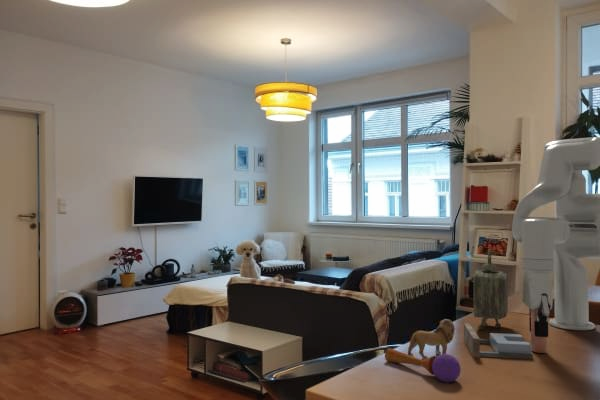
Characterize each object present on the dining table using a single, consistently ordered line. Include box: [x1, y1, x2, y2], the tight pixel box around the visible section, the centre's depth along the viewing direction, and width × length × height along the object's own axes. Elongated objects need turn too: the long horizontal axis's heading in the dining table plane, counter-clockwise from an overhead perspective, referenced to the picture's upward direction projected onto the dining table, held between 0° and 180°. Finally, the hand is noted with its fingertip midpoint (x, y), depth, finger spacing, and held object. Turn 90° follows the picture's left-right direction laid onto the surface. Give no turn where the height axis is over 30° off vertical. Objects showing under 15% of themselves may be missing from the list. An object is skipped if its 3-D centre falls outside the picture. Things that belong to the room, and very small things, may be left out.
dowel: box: [530, 307, 548, 354], centre depth 125 cm, size 4×4×12 cm
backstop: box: [463, 322, 534, 360], centre depth 127 cm, size 16×14×5 cm
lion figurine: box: [407, 318, 456, 360], centre depth 122 cm, size 15×5×9 cm, turn 113°
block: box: [489, 332, 532, 354], centre depth 126 cm, size 10×8×3 cm
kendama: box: [384, 348, 462, 383], centre depth 110 cm, size 6×6×20 cm
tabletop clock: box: [472, 248, 509, 331], centre depth 150 cm, size 14×9×25 cm, turn 153°
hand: (538, 333), depth 125 cm, fingers closed on dowel, 3 cm apart
